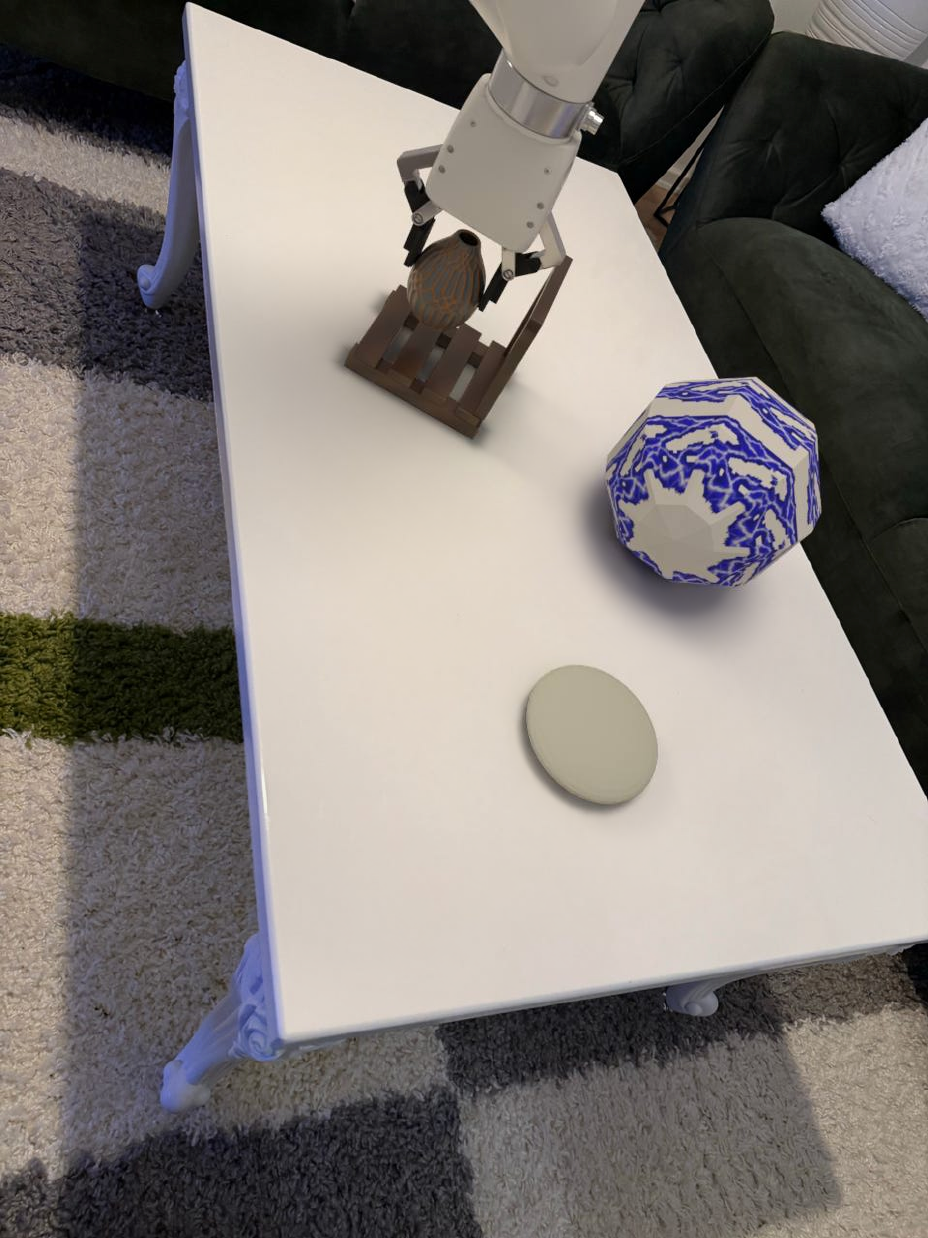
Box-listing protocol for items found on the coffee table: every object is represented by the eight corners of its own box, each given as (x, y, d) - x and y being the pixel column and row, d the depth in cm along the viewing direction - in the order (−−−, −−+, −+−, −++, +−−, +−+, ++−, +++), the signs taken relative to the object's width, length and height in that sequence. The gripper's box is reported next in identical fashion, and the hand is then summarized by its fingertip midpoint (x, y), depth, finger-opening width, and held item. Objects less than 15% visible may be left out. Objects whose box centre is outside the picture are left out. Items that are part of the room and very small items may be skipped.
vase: (400, 278, 84) (434, 199, 78) (466, 304, 86) (505, 229, 80) (394, 325, 81) (429, 246, 74) (464, 351, 83) (504, 277, 76)
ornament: (588, 403, 72) (675, 310, 84) (554, 580, 86) (633, 478, 98) (828, 489, 65) (884, 376, 78) (749, 665, 80) (807, 545, 92)
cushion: (613, 840, 69) (634, 828, 66) (492, 743, 69) (509, 727, 66) (666, 735, 76) (686, 721, 74) (558, 647, 76) (575, 630, 74)
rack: (343, 364, 83) (395, 236, 72) (388, 300, 91) (441, 175, 80) (472, 439, 85) (542, 325, 74) (505, 370, 93) (574, 257, 81)
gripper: (643, 138, 70) (539, 310, 84) (452, 13, 68) (378, 211, 81) (625, 177, 65) (519, 353, 79) (420, 45, 63) (347, 249, 77)
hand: (448, 279), depth 80 cm, fingers closed on vase, 6 cm apart
